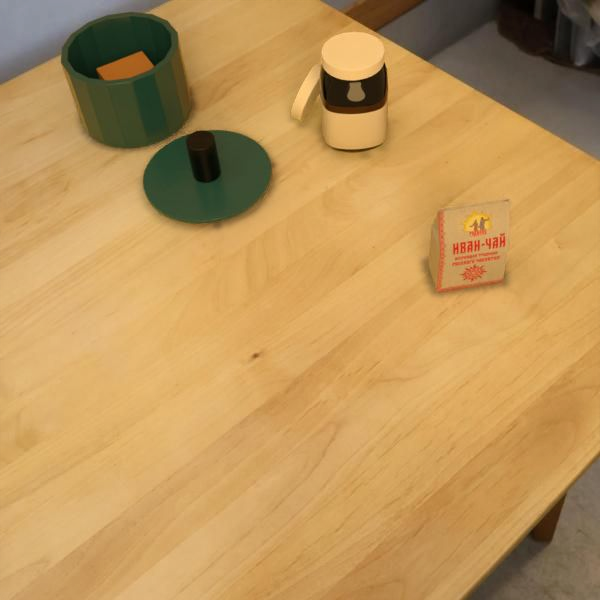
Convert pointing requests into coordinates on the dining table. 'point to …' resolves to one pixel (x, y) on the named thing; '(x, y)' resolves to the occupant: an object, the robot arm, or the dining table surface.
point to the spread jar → (348, 92)
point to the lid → (207, 176)
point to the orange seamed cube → (125, 67)
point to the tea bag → (469, 245)
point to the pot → (128, 80)
